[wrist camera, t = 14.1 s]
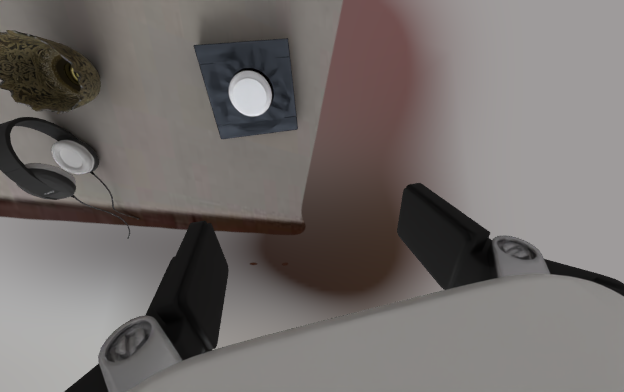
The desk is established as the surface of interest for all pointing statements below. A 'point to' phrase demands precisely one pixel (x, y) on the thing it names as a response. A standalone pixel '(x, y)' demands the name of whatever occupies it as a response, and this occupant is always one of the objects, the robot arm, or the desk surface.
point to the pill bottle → (250, 93)
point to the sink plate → (232, 59)
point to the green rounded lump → (45, 73)
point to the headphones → (42, 176)
